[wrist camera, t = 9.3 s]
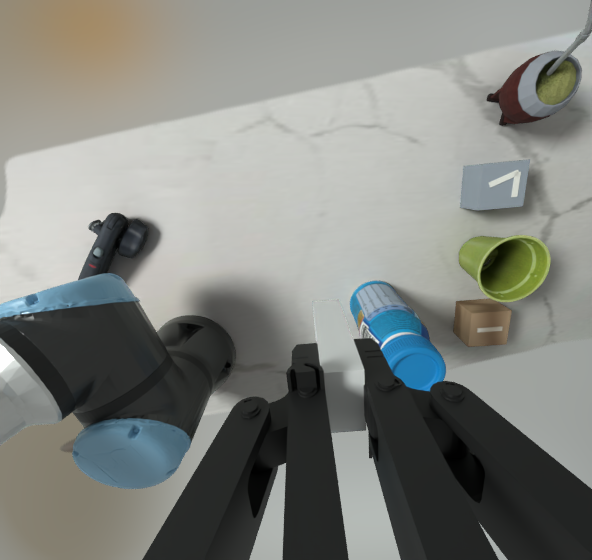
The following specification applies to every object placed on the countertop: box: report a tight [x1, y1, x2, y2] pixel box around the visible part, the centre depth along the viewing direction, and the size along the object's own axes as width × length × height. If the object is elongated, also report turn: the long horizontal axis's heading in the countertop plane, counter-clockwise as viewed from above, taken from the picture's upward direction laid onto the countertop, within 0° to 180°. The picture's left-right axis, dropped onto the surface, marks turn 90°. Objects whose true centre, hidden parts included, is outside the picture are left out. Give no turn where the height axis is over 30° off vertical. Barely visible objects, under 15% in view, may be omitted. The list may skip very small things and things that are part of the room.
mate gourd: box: [487, 0, 592, 125], centre depth 33 cm, size 8×8×15 cm
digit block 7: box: [460, 159, 530, 210], centre depth 41 cm, size 6×6×5 cm
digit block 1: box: [453, 299, 512, 347], centre depth 48 cm, size 6×6×5 cm
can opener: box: [78, 213, 148, 280], centre depth 46 cm, size 18×7×6 cm, turn 140°
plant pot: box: [459, 235, 551, 302], centre depth 43 cm, size 9×9×9 cm
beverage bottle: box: [350, 281, 446, 391], centre depth 40 cm, size 8×8×20 cm
